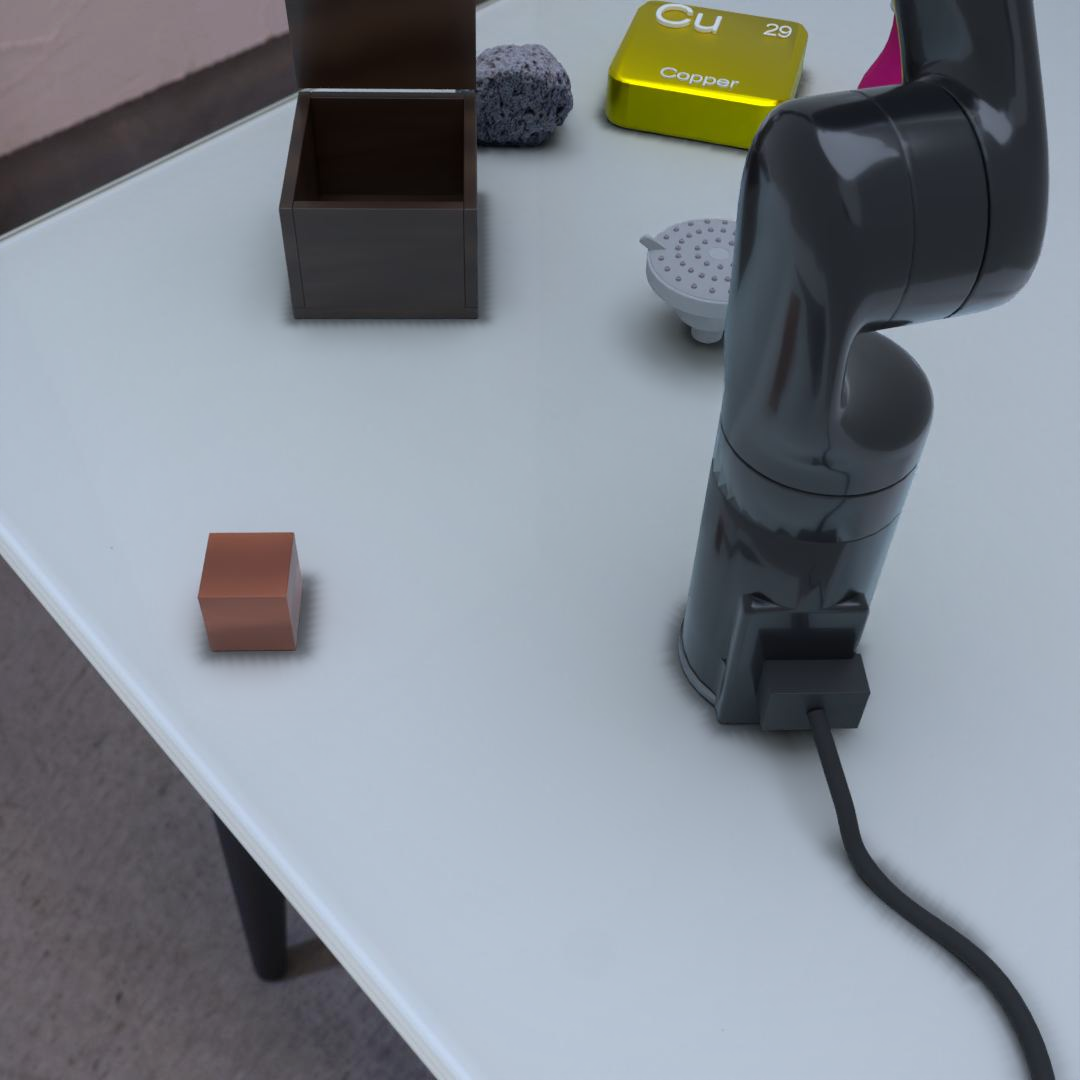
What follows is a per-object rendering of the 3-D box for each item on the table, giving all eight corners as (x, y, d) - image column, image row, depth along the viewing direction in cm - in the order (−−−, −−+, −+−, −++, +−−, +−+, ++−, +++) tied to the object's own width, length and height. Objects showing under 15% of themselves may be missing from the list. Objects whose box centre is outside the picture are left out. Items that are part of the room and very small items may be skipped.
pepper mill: (944, 148, 108) (1016, -102, 93) (912, 188, 104) (982, -67, 89) (863, 121, 111) (921, -126, 96) (828, 160, 107) (883, -93, 92)
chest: (478, 318, 92) (477, 209, 85) (293, 318, 91) (278, 208, 84) (477, 198, 101) (476, 92, 95) (311, 197, 101) (298, 90, 94)
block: (295, 650, 72) (286, 596, 68) (211, 651, 72) (197, 597, 68) (303, 586, 75) (294, 531, 71) (221, 586, 75) (208, 532, 71)
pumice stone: (481, 117, 114) (433, 142, 106) (489, 24, 110) (439, 42, 102) (593, 141, 111) (552, 168, 103) (605, 46, 107) (563, 67, 99)
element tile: (599, 125, 109) (603, 71, 106) (638, 42, 119) (643, -10, 115) (777, 156, 107) (787, 102, 103) (803, 68, 116) (813, 16, 113)
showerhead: (650, 195, 90) (797, 216, 88) (641, 282, 95) (779, 302, 94) (629, 277, 83) (786, 300, 82) (620, 365, 89) (768, 387, 88)
